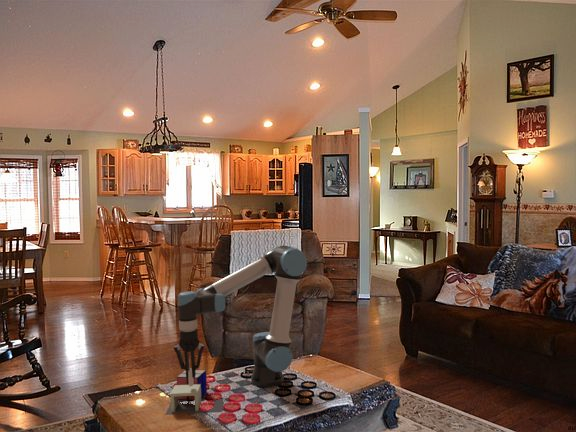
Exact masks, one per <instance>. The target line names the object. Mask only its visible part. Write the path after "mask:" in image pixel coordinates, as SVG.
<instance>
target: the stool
mask: <svg viewBox="0 0 576 432" xmlns="http://www.w3.org/2000/svg"><path fill="white" fill-rule="evenodd" d="M169 394H170V403H171V412H175V410H176V407H177V405H178V403H179V402H178V401H179V400H178V396H195V411H198V410H199V407H200V404H201V400H202V397H201V384H193V386H189V385H177V384H176V385H173V388H172V390H171V392H170V393H169Z"/></svg>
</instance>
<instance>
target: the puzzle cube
mask: <svg viewBox="0 0 576 432" xmlns="http://www.w3.org/2000/svg"><path fill="white" fill-rule="evenodd" d="M195 372H196V375H195V377H193V382H194V384H201V398H203V396H204V395H206V393H207V392H208V385H207V383H208V382H207V370H205V369H203V370H202V369H201V370H199V369H195ZM176 385H189V378H186V371H185V370H184V371H183V372H181V373H180V374H178V376H176ZM178 399H184V400H183V401H187V400H195V396H178Z"/></svg>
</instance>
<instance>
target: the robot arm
mask: <svg viewBox="0 0 576 432" xmlns="http://www.w3.org/2000/svg"><path fill="white" fill-rule="evenodd" d="M307 267H308V260H307V256H306V255H305V253H304V252H303V251H301V250H300V249H298V248H296V247H292V246H289V245H279V246H277V247H275V248H273V249H271V250H269V251H268V252H266V253H263V254H262V255H260V256H259V258H258V259H257V260H255V261H253V262H252V263H249V264H248V265H246V266H244V267H242V268H239V270H237V271H234V272H232V273H231V274H229V275H227V276H225V277H224V278H221V279H220V280H218V281H217V282H214V283H213V284H210V285H208V286H206V287H200V288H199V289H197V291H196V292H195V291H182V292H180V293H178V295H177V313H178V329H179V342H178V344H177V345H175V346H174V347H173V350H174V352H175V353H176V356H177V359H178V363H179V366H180V370H184V371H186V378H189V386H193V384H194V382H193V377H195V375H196V372H195V371H196V370H199V367H200V365H201V361H202V356H203V355H202V354H203V350H204V349H205V347H206V345H205V344H202V343H200V339H199V331H198V315H201V314H202V315H204V314H209V313H210V314H212V313H220V312H224V311H225V309H226V298H225V297H227V296H229V295H230V294H232V293H235V292H236V291H237V290H238V291H239V289H242V288H243V287H245V286H247V285H249V284H251V283H252V282H254V281H256V280H258V279H260V278H262V277H264V276H265V275H268V274H269V275H271V274H274V273H275V274H274V277H275V278H276V280H277V282H276V287H275V288H276V289H275V295H274V300H273V307H272V314H271V320H270V322H271V323H270V328H269V331H263V332H258V333H255V334H254V335H253V338H252V339H253V340H252V343H253V346H252V347H253V364H254V366H253V368H252V369H253V370H252V373H251V377H250V380H251V385H253V386H256V387H258V388H273V387H277V386H280V385H281V384H283V383H284V380H285V379H284V374H283V372H284V371H286V370H287V369H288V368H289V367H290V366H291V364H292V363H293V353H292V351H291V346H292V339H291V338H290V336H289V335H290V328H291V322H292V315H293V309H294V303H295V298H296V297H295V296H296V290H297V284H298V283H299V282H300V281H301V280H302V275H303V273H304V272H305V271H306V269H307ZM197 348H198V349H199V351H198V355H197V360H196V355H195V354H196V350H197ZM181 350H182V351H183V354H184V358H183V355H182V352H181ZM189 353H190V357H189ZM189 360H190V361H189ZM190 363H191V364H190ZM190 365H191V368H190Z"/></svg>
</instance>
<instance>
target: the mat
mask: <svg viewBox="0 0 576 432" xmlns="http://www.w3.org/2000/svg"><path fill="white" fill-rule="evenodd" d="M217 399H218V400H216V401H213V402H214V406H213V408H212V409H210V410H208V411H202V410H200V409H199V410H198V411H195V405H193V404H189V402H188V403H187V404H183V403H182V404H181V403H180V402H179V403H178V405H177V407H176V410H175V412H171V402H170V403H169V406H168V408H167V410H166V412H165V414H164V416H165V415H166V416H167V415H182V414H183V415H185V414H188V415H189V414H208V413H210V414H211V413H223V408H224V405H223V404H225V400H226V399H225V400H224V402H223V399H224V398H217Z"/></svg>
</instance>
